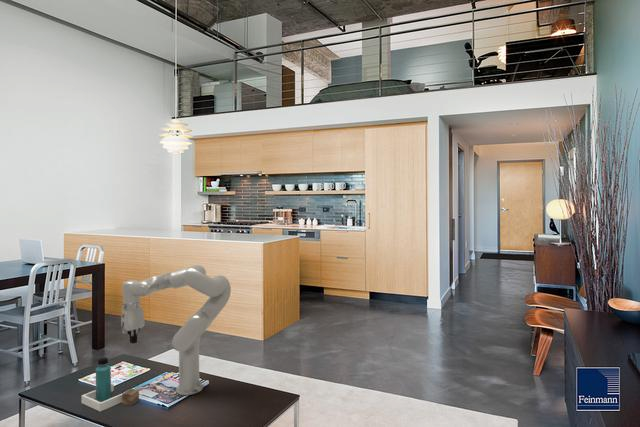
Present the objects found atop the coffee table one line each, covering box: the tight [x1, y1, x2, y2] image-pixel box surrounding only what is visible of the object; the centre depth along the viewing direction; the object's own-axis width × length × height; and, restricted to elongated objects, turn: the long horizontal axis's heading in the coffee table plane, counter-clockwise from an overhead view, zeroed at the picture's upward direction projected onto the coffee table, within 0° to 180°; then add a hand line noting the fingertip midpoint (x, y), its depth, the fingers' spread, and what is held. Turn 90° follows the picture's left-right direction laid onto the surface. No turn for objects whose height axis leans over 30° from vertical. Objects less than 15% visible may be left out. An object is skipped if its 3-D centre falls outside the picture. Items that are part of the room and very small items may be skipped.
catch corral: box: [80, 383, 122, 413], centre depth 195 cm, size 15×15×4 cm
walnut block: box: [121, 388, 140, 406], centre depth 194 cm, size 5×5×5 cm
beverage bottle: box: [95, 357, 112, 402], centre depth 194 cm, size 6×7×20 cm
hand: (133, 342), depth 206 cm, fingers closed
